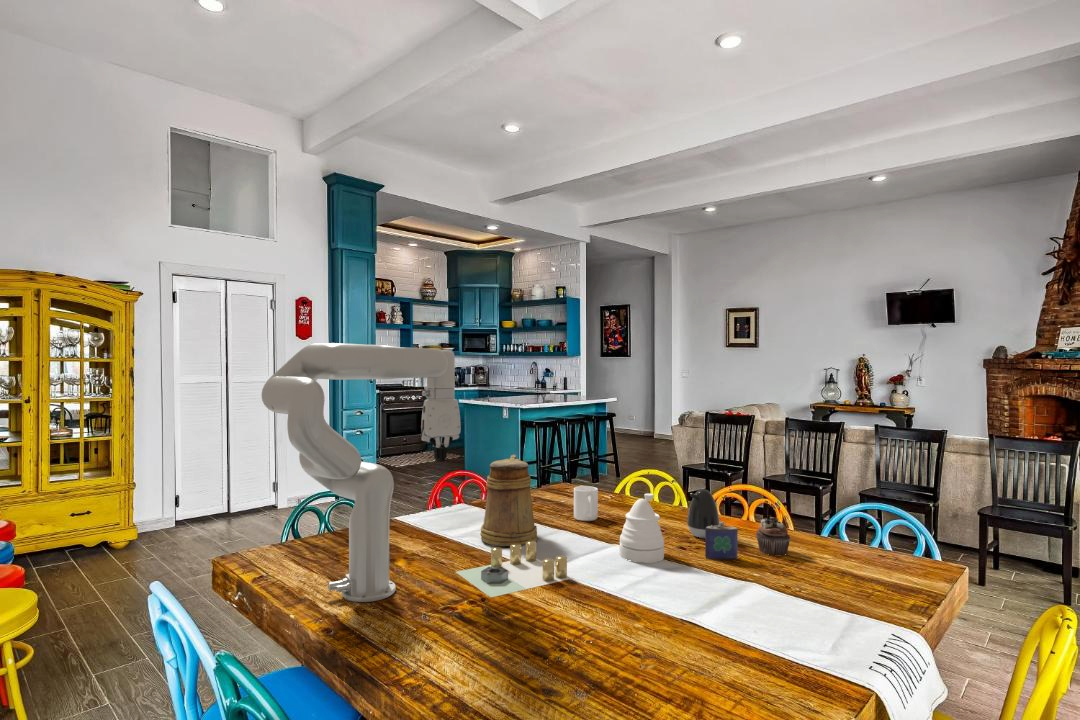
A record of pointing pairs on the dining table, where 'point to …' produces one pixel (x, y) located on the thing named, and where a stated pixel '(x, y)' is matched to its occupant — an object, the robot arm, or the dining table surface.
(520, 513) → the tankard
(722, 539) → the flask
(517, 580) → the mat
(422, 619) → the dining table surface
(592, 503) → the mug
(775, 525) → the cupcake
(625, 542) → the honey pot
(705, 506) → the penguin figurine
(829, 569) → the dining table surface
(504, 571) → the nut
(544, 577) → the spacers
